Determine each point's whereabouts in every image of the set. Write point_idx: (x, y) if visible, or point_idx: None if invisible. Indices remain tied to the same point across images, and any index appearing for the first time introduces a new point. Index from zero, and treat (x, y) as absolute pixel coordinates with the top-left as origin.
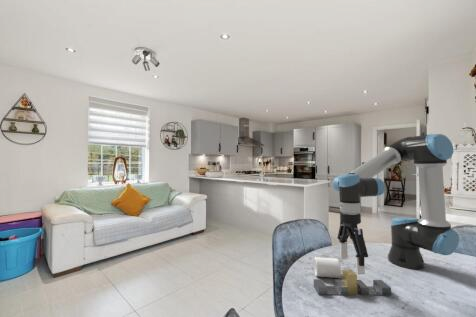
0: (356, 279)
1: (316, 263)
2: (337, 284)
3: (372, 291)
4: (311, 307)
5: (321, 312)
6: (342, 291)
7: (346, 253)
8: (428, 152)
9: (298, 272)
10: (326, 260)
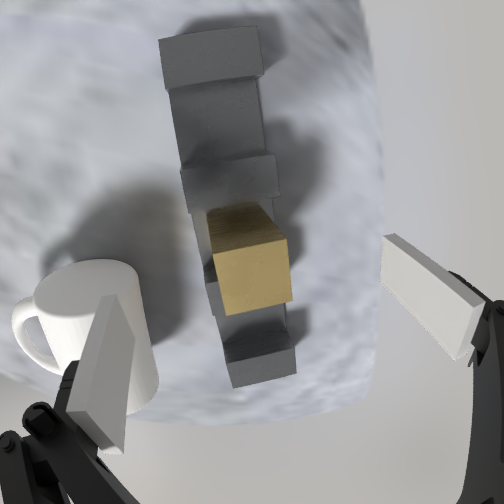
0: (278, 231)
1: (143, 405)
2: None
3: (228, 117)
4: (354, 364)
5: (376, 341)
6: None
7: (112, 332)
8: None
9: None
10: None
